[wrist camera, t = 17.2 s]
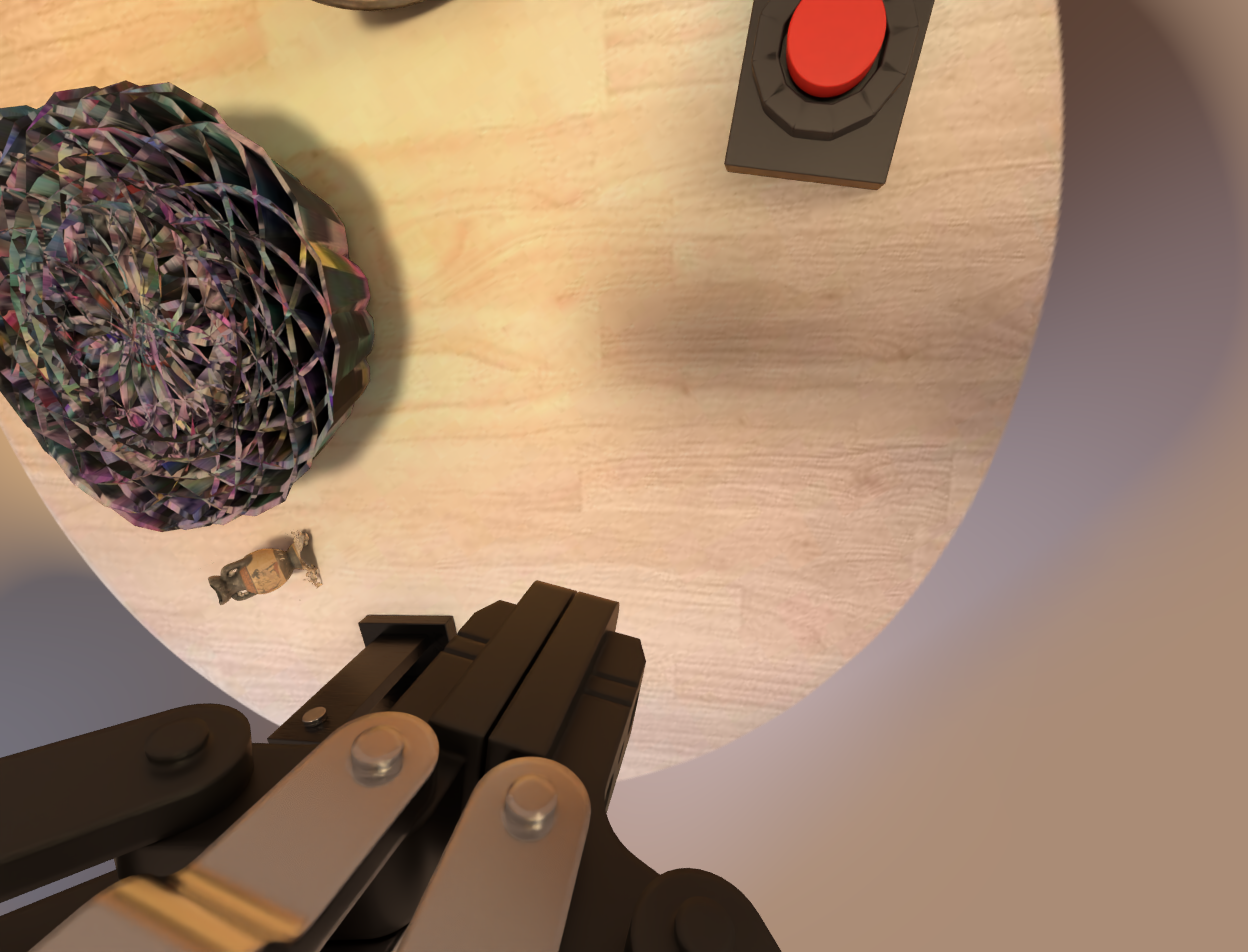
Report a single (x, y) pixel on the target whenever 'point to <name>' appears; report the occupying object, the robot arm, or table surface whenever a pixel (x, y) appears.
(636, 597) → the table surface
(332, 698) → the bracket
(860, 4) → the button
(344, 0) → the alarm clock
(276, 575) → the vase
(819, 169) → the control block
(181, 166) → the decorative bowl
